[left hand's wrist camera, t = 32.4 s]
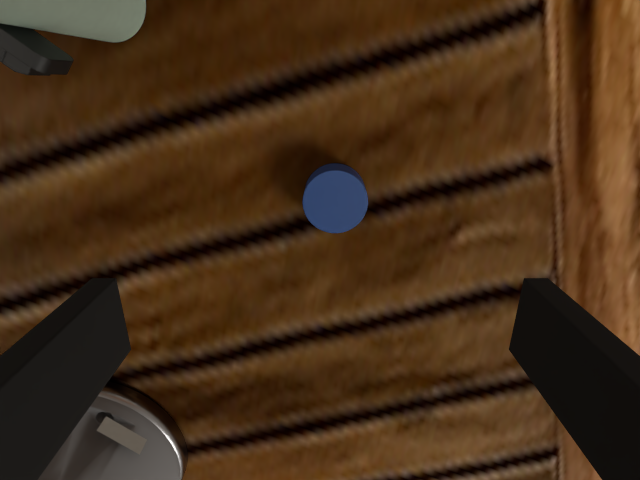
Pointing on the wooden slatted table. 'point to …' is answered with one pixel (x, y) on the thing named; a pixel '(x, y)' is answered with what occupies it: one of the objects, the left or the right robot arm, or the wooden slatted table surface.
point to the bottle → (77, 17)
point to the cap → (335, 198)
